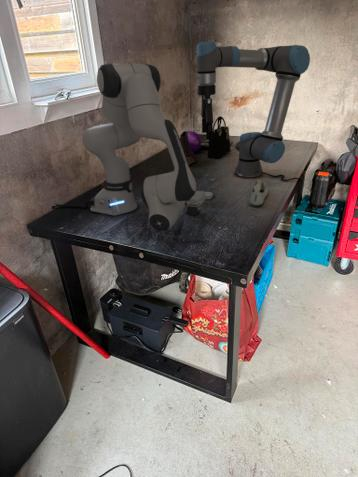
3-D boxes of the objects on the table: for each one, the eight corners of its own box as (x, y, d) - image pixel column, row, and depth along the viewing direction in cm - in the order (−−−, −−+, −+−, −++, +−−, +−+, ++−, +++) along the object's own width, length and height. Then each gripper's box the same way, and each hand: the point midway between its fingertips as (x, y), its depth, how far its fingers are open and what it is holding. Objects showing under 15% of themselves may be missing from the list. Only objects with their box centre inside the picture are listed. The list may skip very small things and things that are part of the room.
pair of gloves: (198, 151, 236) (198, 144, 233) (184, 143, 256) (183, 137, 254) (234, 145, 246) (235, 137, 243) (218, 138, 266) (218, 131, 263)
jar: (189, 210, 152) (188, 179, 144) (199, 211, 150) (198, 180, 143) (186, 214, 148) (184, 183, 140) (196, 215, 147) (195, 183, 139)
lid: (200, 199, 162) (200, 195, 161) (202, 194, 167) (202, 191, 166) (211, 199, 161) (211, 196, 160) (213, 195, 166) (213, 191, 165)
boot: (197, 157, 223) (197, 126, 213) (191, 168, 203) (190, 135, 193) (185, 157, 225) (183, 126, 215) (178, 168, 205) (176, 135, 195)
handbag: (218, 159, 217) (218, 119, 204) (206, 157, 221) (205, 119, 209) (231, 151, 232) (232, 114, 219) (219, 150, 236) (220, 113, 224)
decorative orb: (204, 151, 235) (204, 129, 228) (194, 156, 225) (193, 134, 217) (186, 149, 243) (186, 128, 235) (175, 154, 232) (174, 132, 224)
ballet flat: (269, 188, 169) (270, 173, 165) (265, 208, 149) (266, 191, 145) (252, 187, 171) (253, 172, 167) (246, 206, 151) (247, 190, 147)
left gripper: (201, 197, 115) (209, 183, 127) (146, 193, 121) (159, 179, 132) (201, 213, 119) (209, 198, 130) (148, 208, 124) (160, 194, 135)
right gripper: (194, 82, 149) (195, 130, 160) (201, 88, 127) (202, 143, 138) (210, 81, 149) (211, 129, 160) (220, 86, 128) (220, 142, 138)
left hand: (183, 188), depth 131 cm, fingers open, 8 cm apart
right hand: (207, 136), depth 149 cm, fingers open, 13 cm apart
